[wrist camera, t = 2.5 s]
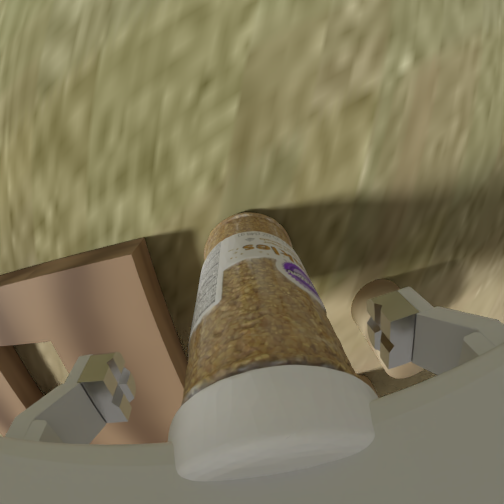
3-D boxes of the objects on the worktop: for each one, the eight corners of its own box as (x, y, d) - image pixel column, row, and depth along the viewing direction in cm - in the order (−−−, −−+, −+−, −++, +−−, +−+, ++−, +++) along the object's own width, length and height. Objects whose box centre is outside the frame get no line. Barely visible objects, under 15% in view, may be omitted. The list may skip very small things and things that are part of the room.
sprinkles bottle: (306, 233, 17) (457, 451, 4) (265, 304, 18) (318, 548, 5) (226, 194, 16) (222, 419, 3) (188, 271, 17) (135, 528, 4)
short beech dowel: (401, 273, 18) (445, 314, 13) (400, 319, 19) (437, 366, 15) (349, 286, 18) (385, 334, 13) (352, 333, 19) (382, 386, 15)
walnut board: (144, 237, 16) (131, 254, 14) (212, 420, 21) (212, 446, 19) (-61, 293, 16) (-79, 308, 14) (15, 423, 21) (6, 440, 19)
